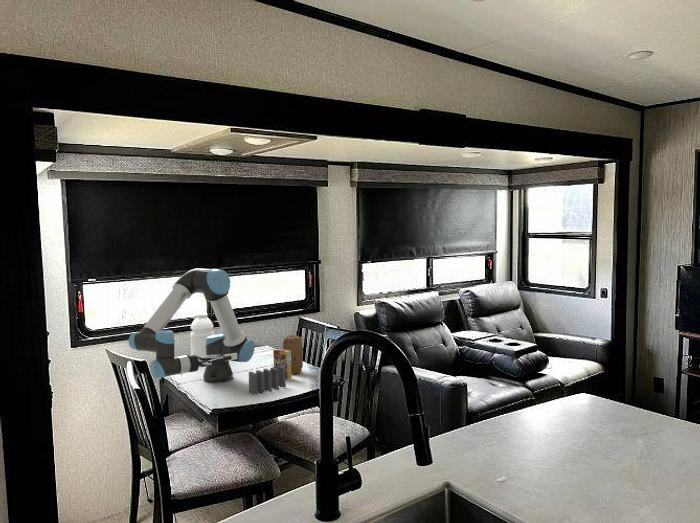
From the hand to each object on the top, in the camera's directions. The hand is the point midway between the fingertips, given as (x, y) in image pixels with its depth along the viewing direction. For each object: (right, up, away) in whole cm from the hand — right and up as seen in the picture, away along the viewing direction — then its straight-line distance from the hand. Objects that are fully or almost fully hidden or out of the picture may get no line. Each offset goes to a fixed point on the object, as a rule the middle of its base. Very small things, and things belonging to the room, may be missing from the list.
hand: (236, 356), depth 254 cm
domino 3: (+13, -19, +12) cm, 26 cm away
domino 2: (+10, -19, +10) cm, 23 cm away
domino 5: (+19, -18, +17) cm, 32 cm away
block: (+22, -17, +43) cm, 51 cm away
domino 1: (+7, -19, +7) cm, 22 cm away
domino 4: (+16, -19, +15) cm, 29 cm away
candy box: (+18, -17, +32) cm, 40 cm away
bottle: (-35, -15, +71) cm, 81 cm away
